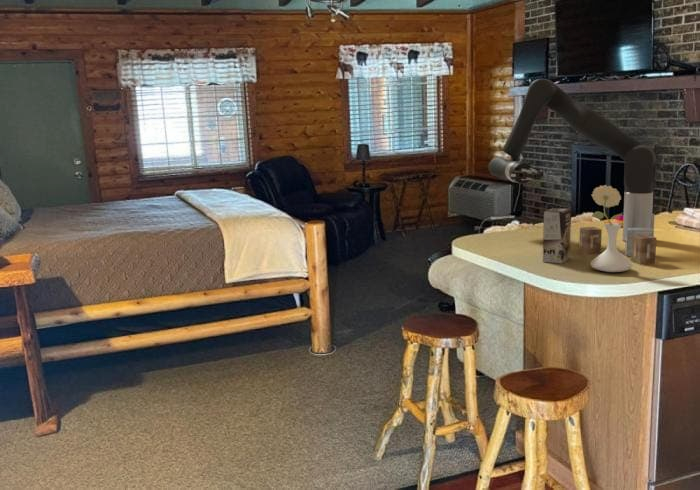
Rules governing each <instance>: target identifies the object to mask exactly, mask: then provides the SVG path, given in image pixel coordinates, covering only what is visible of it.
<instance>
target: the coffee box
mask: <svg viewBox="0 0 700 490" xmlns="http://www.w3.org/2000/svg"><path fill="white" fill-rule="evenodd" d="M571 227H572V208H570V207H569V208H567V207H566V208H564V207H563V208H561V207H560V208H556V207H555V208H554V207H552V208H549V209H547V210H544V211H543V230H542V231H543V232H542V235H543V237H542V239H543V240H542V241H543V243H542V262H544V263H551V264H552V263H553V264H554V263H555V264H563V263H565V262H566V261H568V260H569V259H571V237H572V236H571V231H572V230H571Z"/></svg>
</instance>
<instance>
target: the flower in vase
mask: <svg viewBox="0 0 700 490" xmlns="http://www.w3.org/2000/svg"><path fill="white" fill-rule="evenodd" d="M591 197H592V199H593V201H594V202H595V204H597V205H598V206H603V212H601V211H599V210H598V211H595V212H594V213H593V214H591V218H596V219H600V220H602V219H604V217H605V218H606V220H608V221H609V223H605V224H604V223H603V226H604V227H605V229H606V232H607V233H606V234H607V239H608V240H607V247H606V249H605V250H604V251H603V252H601V253H599V254H598V255H597V256H596V257H595V258H593V259H592V260H591V262H590V266H591V267H592V268H593V269H594V270H598V271H601V272H606V273H620V272H626V271H628V270H631V269H632V268H633V264H632V261H631V260H629V259H628V257H627V256H626V255H623V254H622V253H621V252H620V251H619V250H618V248H617V238H618V232H619V230H620V229H621V228H622V227H621V226H622V224H620V223H611V222H610V220H612V219H616V218H618V217H619V216H620V215H623V214H624V211H623V212H621V213H618V214H615V215H613V216H611V218H610V219H609V217H608V216H607V213H606V208H611V207H615V206H618V205H619V203H620V202H621V201H620V200H622V196H621V194H620V191H618V189H617V188H613V187H612V185H608V186H607V184H604V185H599V186H598V187H595V188H594V189H593V191H592V194H591Z"/></svg>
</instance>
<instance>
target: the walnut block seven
mask: <svg viewBox="0 0 700 490" xmlns="http://www.w3.org/2000/svg"><path fill="white" fill-rule="evenodd" d="M602 231H603V230H602V228H599V227H596V226H586V227H585V226H584V227H583V226H581V227H579V243H578V244H579V245H578V246H579V252H581V253H583V254H585V255H595V254H596V253H597V254H602V233H603V232H602Z"/></svg>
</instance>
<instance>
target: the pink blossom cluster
mask: <svg viewBox="0 0 700 490" xmlns="http://www.w3.org/2000/svg"><path fill="white" fill-rule="evenodd" d="M623 218H624V214H621V215H620V216H619V217H618V218H615V219H612V220H610V219H609V220H610V222H611V223H620V224H622V226H621V227H620V228H623ZM605 223H609V221H608V219H605V220H604V221H603V225H604V224H605Z"/></svg>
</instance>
